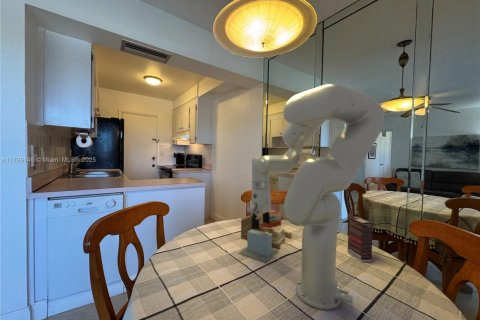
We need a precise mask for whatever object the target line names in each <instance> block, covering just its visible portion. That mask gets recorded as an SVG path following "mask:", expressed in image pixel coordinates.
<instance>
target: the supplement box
mask: <svg viewBox="0 0 480 320" xmlns="http://www.w3.org/2000/svg"><path fill="white" fill-rule="evenodd" d="M347 221H348V222H347V223H348V224H347V227H348V228H347V233H348V234H347V253H348V254H349V255H350V256H353V258H356V259H357V260H358V261H360V262H361V263H368V262H372V261H373V259H372V258H373V226H374V225H373V222H372V221H369V220H367V219H364V218H361V217H359V216H348V219H347Z"/></svg>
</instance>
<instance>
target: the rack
mask: <svg viewBox="0 0 480 320" xmlns="http://www.w3.org/2000/svg"><path fill="white" fill-rule="evenodd" d="M255 215H257V214H255ZM258 219H259V218H258ZM240 226H241V227H240V239H241V240H244V239H245V240H244V241H247V235H248V231H250V230H255V231H258V230H259V232H263V233H266V232H267V234H271V235H272V234H273V230H275V229H276V228H273V227H271V228H267V227H263V226H259V229H253V228H252V219H251V216H250V214H249V215H247V216H244V217H242V218H241V219H240ZM292 234H293V233H291V232H288V231H285V232H284V235H285V239H292V238H293V235H292ZM272 249H275V250H278V251H279V250H281V244H280V243H278V242H274V241H272Z"/></svg>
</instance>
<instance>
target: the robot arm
mask: <svg viewBox="0 0 480 320" xmlns="http://www.w3.org/2000/svg"><path fill="white" fill-rule="evenodd" d="M282 115H283V118H284V120H285V121H286V122H287V123H288V125H287V126H286V128H285V129H284V130H283V131H282V133H281V138H282V141H283V142H284V144H286V145H287V147H289V148H288V150H287V151H286V152H285V153H284V154H283V155H262V156H254V157H252V159H251V189H252V191H251V201H250V205H251V207H250V208H249V215H250V216H251V219H252V228H253V229H259V219H258V218H259V215H260V214H263V223H268V224H269V223H270V210H272V200H271V199H272V197H271V196H272V195H271V190H270V180H271V179H270V175H286V174H288V173H291V171H293V169H294V168H295V167H296V166H298V164H299V163H300V161H301V159H302V156H303V148H304V146H305V145H306V144H307V143H308V141H309V140H310V139H311V138H312V137H313V136H314V135H315V134H316V133H317V131H318V130H319V129H320V128H321V127H322V126H323V124H324V123H325V122H326V121H332V122H338V123H343V124H345V125H346V126H345V127H344V129H342V131H341V132H339V133H338V134H337V136H336V137H335V139H334V140H333V142H332V144H331V147H330V148H329V150H328V152H327V154H326V155H325V156H314V157H309V158H307V159H306V160H304V161H303V162H302V163H300V165H299V166H298V168H297V170H296V172H295V174H294V177H293V179H292V181H291V184H290V186H289V188H288V190H287V194H286V196H285V198H284V202H283V213H284V216H285V218H286V220H287V221H288V222H289V223H290V224H291V225H293V226H297V227H303V229H302V236H301V238H302V239H301V241H302V242H301V277H300V278H301V279H299V280H298V281H297V282H296V285H295V292H296V294H297V296H298V297H299V299H300V300H302V301H303V302H304V303H305V304H307V305H309V306H311V307H313V308H316V309H319V310H333V309H337V308H338V307H339V306H340V305H341V302H342V301H344V302H346V303H348V304H351V305H353V302H354V301H353V300H354V298H353V297H354V296H353V295H351V294H349V293H350V291H349V290H348V289H345V288H342V287H341V286H339V285H338V283H339V281H338V280H337V279H336V273H337V272H336V271H337V270H336V268H337V245H338V244H337V242H338V241H337V240H338V239H337V238H338V228H339V222H340V219H341V213H342V212H341V211H342V207H341V206H342V205H341V202H340V199H339V197H338V196H337V194H335V193H339V192H343V191H346V190H347V189H348V188H349V187H350V186H351V184H352V183H353V181H354V179H355V177H356V175H357V174H358V172H359V170H361V169H360V168H361V167H362V166H363V164H364V162H365V160H366V158H367V155H368V153H369V152H370V151H371V149H372V148H373V145H374V144H375V142H376V141H377V139H378V137H379V136H380V134H381V131H382V129H383V126H384V124H385V123H384V122H385V114H384V110H383V108H382V105H381V104H380V102H378V100H377V99H375V98H374V97H373V96H371V95H370V94H368V93H366V92H363V91H361V90H358V89H355V88H352V87H349V86H346V85H343V84H340V83H329V84H328V83H327V84H324V85H320V86H317V87H314V88H312V89H308V90H305V91H302V92H300V93H296V94H294V95H293V96H291V97H290V98H289V99H288V101H286V103H285V105H284V107H283V114H282ZM255 214H257V215H255Z"/></svg>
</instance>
